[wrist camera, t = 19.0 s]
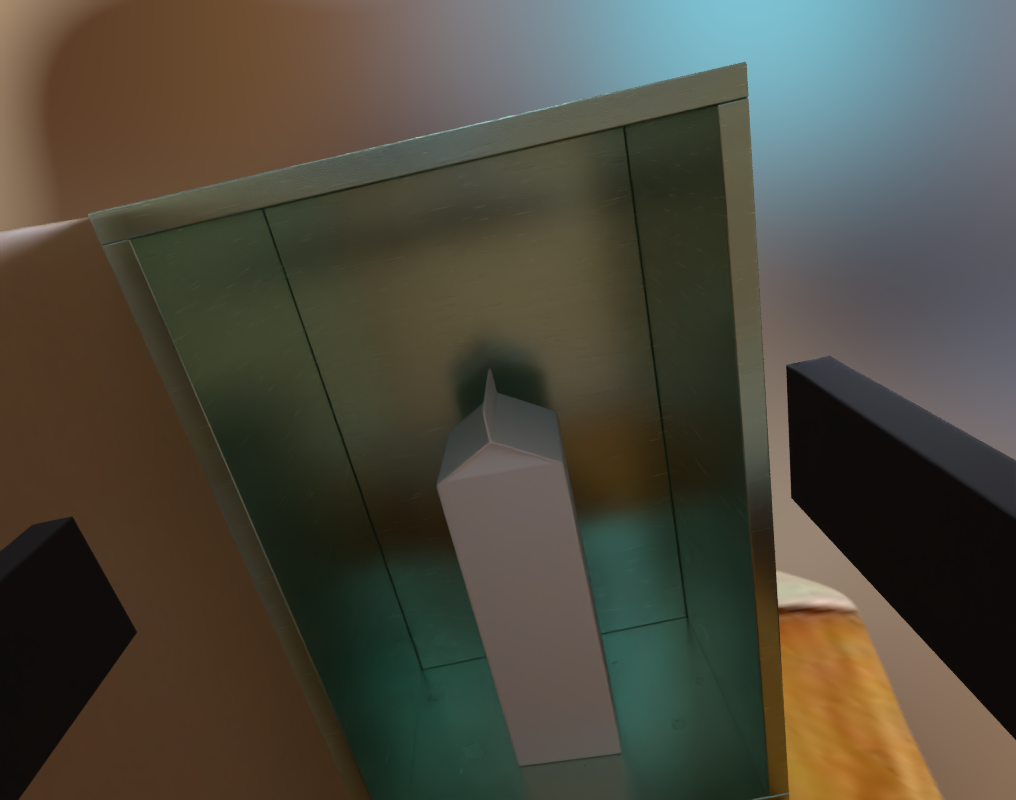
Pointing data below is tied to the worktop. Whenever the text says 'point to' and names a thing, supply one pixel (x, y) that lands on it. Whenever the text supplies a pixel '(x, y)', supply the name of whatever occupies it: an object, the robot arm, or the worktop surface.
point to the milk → (528, 578)
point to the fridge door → (140, 550)
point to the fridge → (460, 390)
